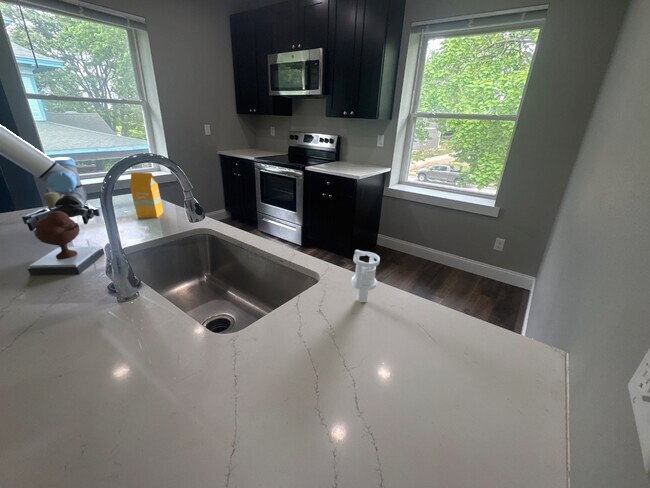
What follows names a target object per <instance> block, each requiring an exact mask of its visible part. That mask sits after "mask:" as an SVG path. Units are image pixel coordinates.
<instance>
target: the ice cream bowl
mask: <svg viewBox="0 0 650 488" xmlns="http://www.w3.org/2000/svg"><path fill="white" fill-rule="evenodd" d="M35 227H36V228H35V229H34V230H33V233H34V236H35V237H36V239H37V240H39V241H40V242H42V243H44V244H46V245H51V246H58V247H61V250H62V251H61V252H60V253H59V254H57V255H56V258H57V259H67V258H71V257H74V256H75V255H77V252H76V251H74V250H68V247H69V246H68V244H70V243H71V242H73V241H74V240H75V239H76V238H77V237H78V235H79V234H80V230H81V229H80V225H79V223H78V222H75V221H74V220H73V219H71V217H69V216H68V215H67V214H66V213H64V212H61V211H54V212H50V213H49V214H48V215H47V217H44V218H42V219H40V220H39V221H38V222H37V223H36V225H35Z"/></svg>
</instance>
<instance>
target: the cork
mask: <svg viewBox="0 0 650 488" xmlns="http://www.w3.org/2000/svg"><path fill="white" fill-rule="evenodd" d="M60 196H61V195H60V193H58V192H47V193H44V194H43V199H44V200H45V201H46V204H47V210H49V209H50V208H54V206H55V203H56V201H57V200H58V199H59V198H60Z"/></svg>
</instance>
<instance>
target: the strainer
mask: <svg viewBox="0 0 650 488" xmlns="http://www.w3.org/2000/svg"><path fill="white" fill-rule="evenodd" d="M365 256H367V257H369V258H368V259H369V260H368V262H365V261H363V260H361V259H360V257H365ZM352 259H353V263H354V264H355V271H354V275H353V276H352V277H351V282H350V283H351V285H352V287H354V288H355V289H357V296H356V301H357V300H358V301H359V302H358V301H357V302H358V303H361V302H365V303H367V302H368V299H369V291H372V290H375V289H376V288H377V286H378V280H377V278H376V271H377V267H378V266H379V265H380V261H381V257H380V255H378V254H377V253H375V252H371V251H366V250H365V251H364V250H360V249H355V250H354V254H353V258H352Z"/></svg>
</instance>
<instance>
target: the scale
mask: <svg viewBox="0 0 650 488" xmlns="http://www.w3.org/2000/svg"><path fill="white" fill-rule="evenodd" d="M67 247H68V250H74V251H76V252H77V255H75V256H74V257H71V258H67V259H57V258H56V255H57V254H59V253H60V252H61V251H62V250H61V247H60V246H58V247H57V248H55V249H54V250H51V251H50V252H48V253H47V254H45V255H44V256H42V257H41V258H39V259H37V260H36V261H34V262H32V263H31V264H30V265H29V267H27V272H28V273H29V276H60V275H62V276H63V275H64V276H65V275H81V274H82V273H83V272H84V271H86V270H87V269H88V268H90V266H92V265H93V264H94V263H96V262H97V261H98V260H99V259H100V258H102V257H103V256H105V254H106V253H105V250H104V247H101V246H67Z"/></svg>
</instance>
